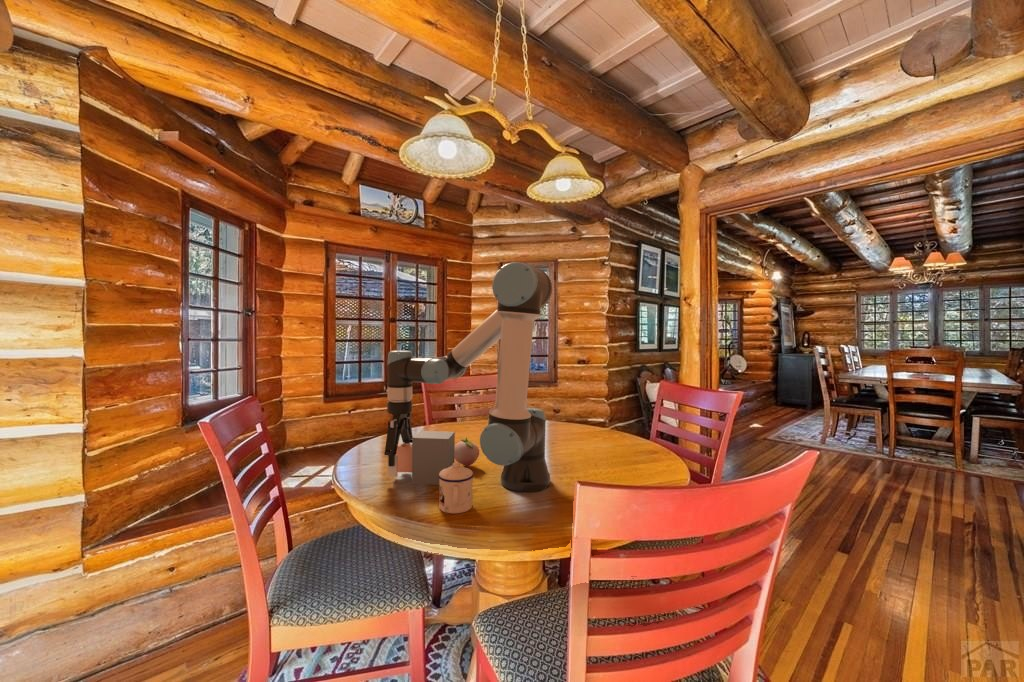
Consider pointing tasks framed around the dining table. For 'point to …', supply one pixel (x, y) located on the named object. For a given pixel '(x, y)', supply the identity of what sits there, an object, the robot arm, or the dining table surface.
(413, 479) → the gray rectangular block
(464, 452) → the decorative fruit
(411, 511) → the dining table surface
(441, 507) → the teacup with lid
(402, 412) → the robot arm
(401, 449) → the orange rectangular block
